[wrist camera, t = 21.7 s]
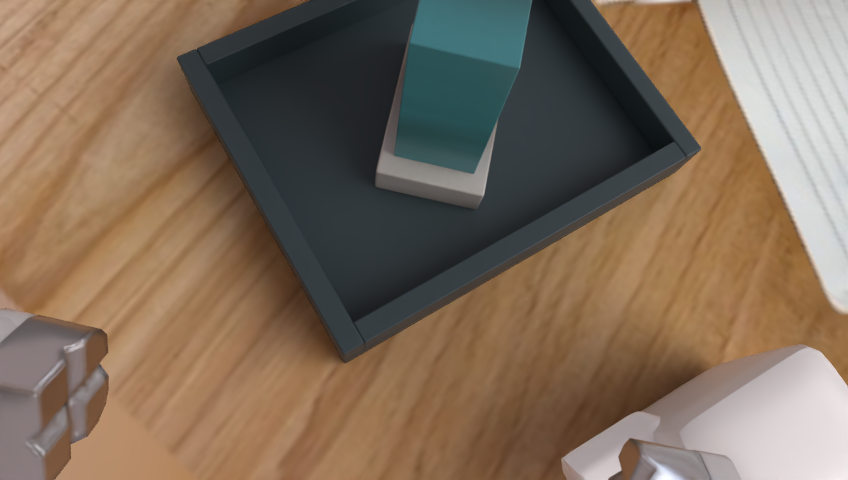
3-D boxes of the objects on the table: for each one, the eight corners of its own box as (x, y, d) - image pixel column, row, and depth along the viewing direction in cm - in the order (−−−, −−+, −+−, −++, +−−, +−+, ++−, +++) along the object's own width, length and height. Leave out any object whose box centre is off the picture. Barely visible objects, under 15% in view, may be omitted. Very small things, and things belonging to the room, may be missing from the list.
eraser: (477, 210, 25) (534, 97, 17) (374, 187, 25) (383, 62, 17) (503, 67, 27) (566, -95, 19) (409, 44, 27) (432, -128, 19)
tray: (344, 364, 24) (343, 355, 22) (190, 89, 26) (175, 56, 24) (675, 172, 27) (703, 148, 25) (511, -52, 30) (523, -91, 28)
